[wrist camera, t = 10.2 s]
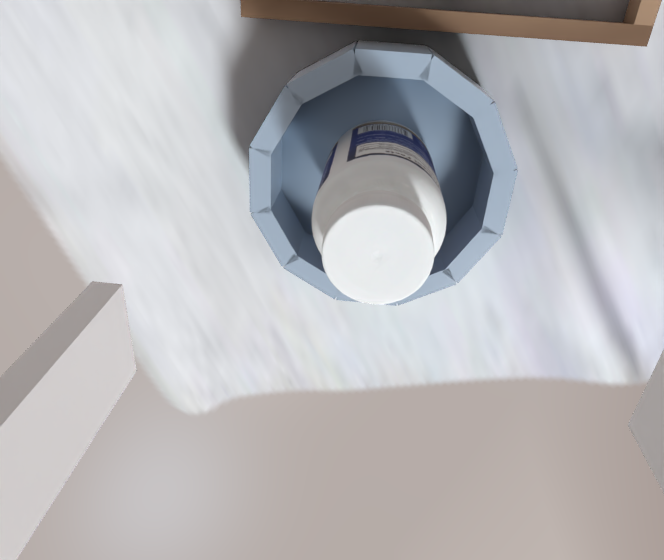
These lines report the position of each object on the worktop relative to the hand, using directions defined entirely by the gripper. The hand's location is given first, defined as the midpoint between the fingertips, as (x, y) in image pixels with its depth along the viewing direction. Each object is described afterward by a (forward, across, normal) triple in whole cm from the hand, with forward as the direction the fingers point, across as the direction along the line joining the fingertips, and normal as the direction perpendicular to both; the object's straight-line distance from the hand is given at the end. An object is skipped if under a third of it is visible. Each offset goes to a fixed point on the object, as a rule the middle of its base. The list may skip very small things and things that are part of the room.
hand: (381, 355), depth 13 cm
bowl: (+16, 0, -1) cm, 16 cm away
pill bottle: (+16, 0, 0) cm, 16 cm away
